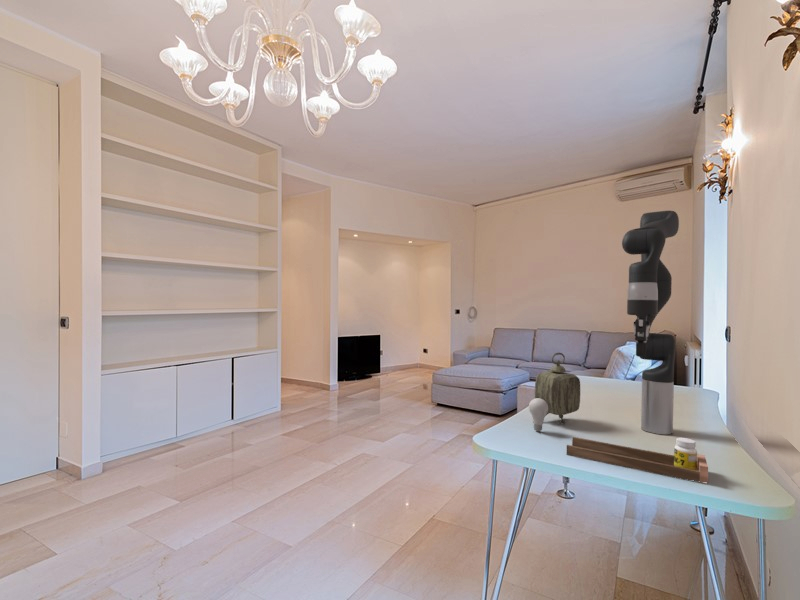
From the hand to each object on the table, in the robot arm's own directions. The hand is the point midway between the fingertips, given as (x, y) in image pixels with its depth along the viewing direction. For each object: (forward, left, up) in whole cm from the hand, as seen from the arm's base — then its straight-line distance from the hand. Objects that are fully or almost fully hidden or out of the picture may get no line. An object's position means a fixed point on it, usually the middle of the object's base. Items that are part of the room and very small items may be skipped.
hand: (641, 355), depth 116 cm
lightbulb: (-3, -29, -28) cm, 41 cm away
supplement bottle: (+9, +10, -28) cm, 31 cm away
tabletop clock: (-19, -26, -28) cm, 43 cm away
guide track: (+9, -2, -28) cm, 30 cm away
